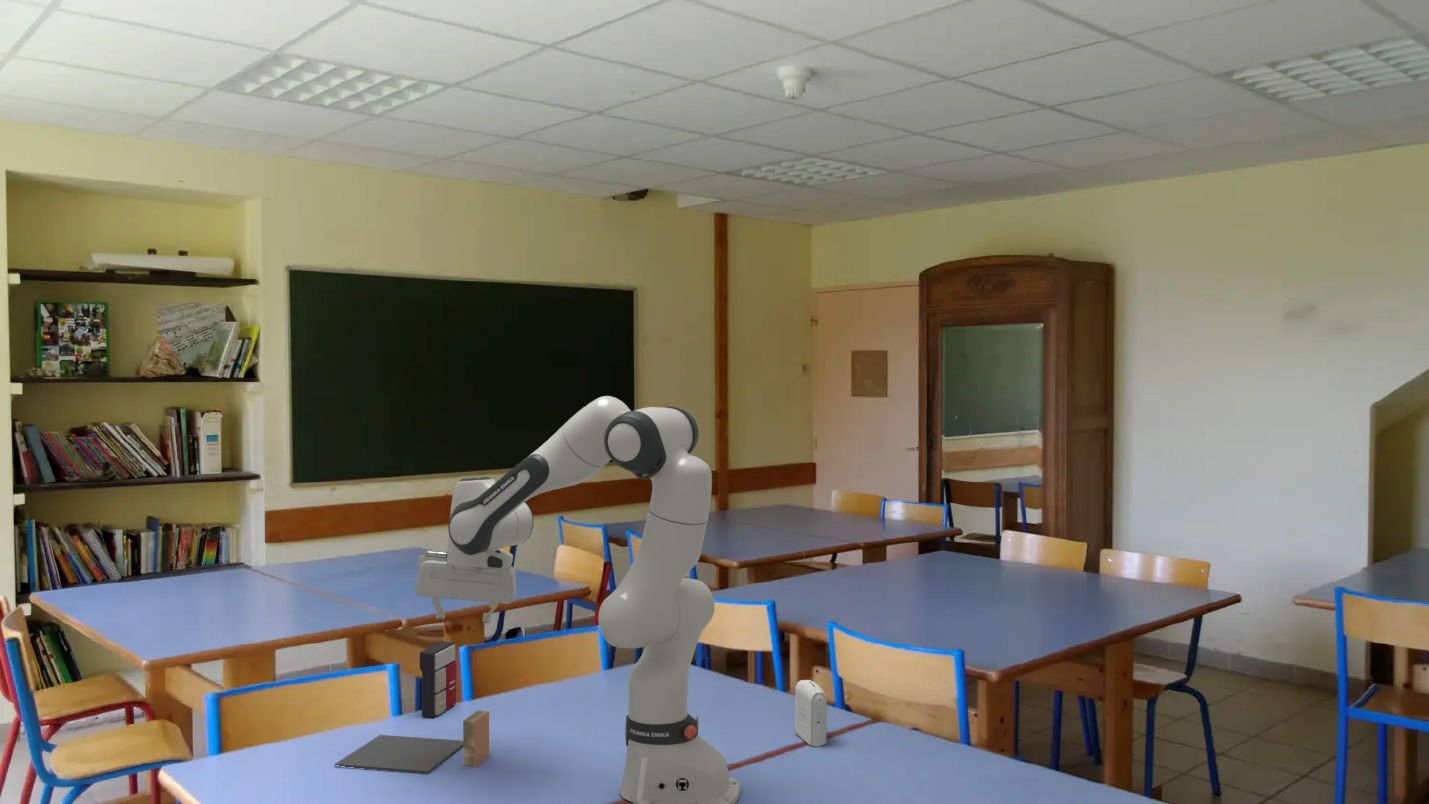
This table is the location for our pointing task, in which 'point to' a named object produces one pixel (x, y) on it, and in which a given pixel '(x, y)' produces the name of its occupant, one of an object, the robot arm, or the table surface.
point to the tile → (475, 738)
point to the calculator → (438, 678)
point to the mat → (402, 754)
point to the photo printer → (810, 713)
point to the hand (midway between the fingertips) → (463, 620)
